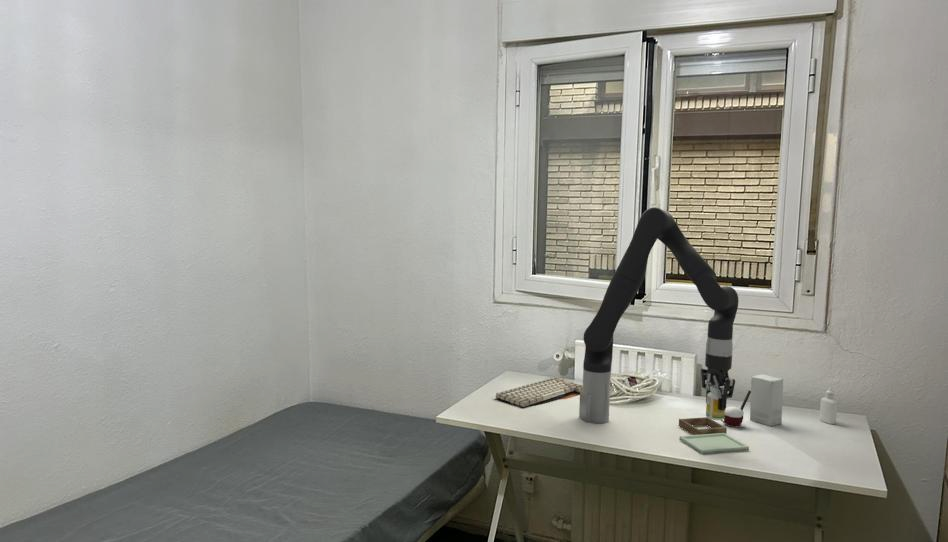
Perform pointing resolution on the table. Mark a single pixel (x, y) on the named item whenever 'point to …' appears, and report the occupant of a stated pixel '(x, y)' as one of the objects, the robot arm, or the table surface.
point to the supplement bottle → (714, 405)
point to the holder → (693, 430)
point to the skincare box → (766, 399)
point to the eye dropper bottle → (828, 408)
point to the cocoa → (735, 414)
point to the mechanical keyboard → (540, 392)
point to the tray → (713, 443)
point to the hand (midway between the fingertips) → (715, 406)
